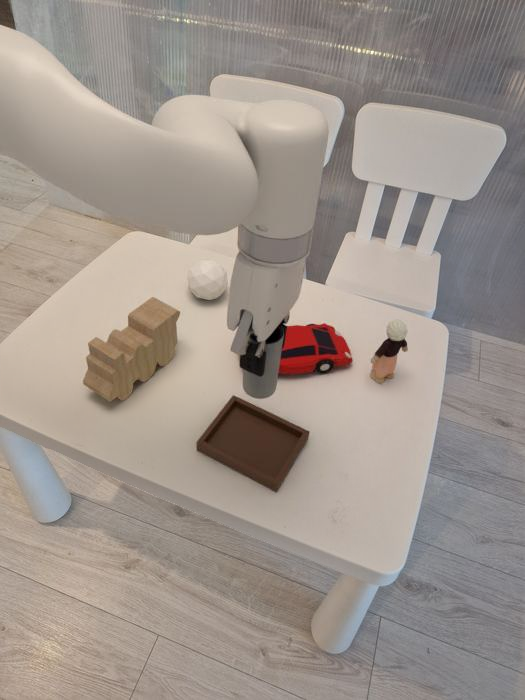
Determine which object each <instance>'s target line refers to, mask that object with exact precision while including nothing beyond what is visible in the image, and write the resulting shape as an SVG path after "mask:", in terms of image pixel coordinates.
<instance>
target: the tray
mask: <svg viewBox="0 0 525 700" xmlns="http://www.w3.org/2000/svg"><path fill="white" fill-rule="evenodd" d="M310 433H311V431H310V430H307V429H305V428H303V427H301V426H299V425H298V424H295V423H293V422H291V421H289V420H287V419H284V418H283V417H281V416H278V415H276V414H274V413H272V412H270V411H268V410H266V409H264V408H262V407H259V406H258V405H256V404H253V403H251V402H249V401H247V400H245V399H243V398H241V397H238V396H236V395H234V394H233V395H232V396H231V398H230V399H229V400H228V401H227V403H226V404H224V406H223V408H222V409H221V410H220V412H219V413H217V415H216V417H214V419H213V420H212V422H211V423H210V424H209V426H208V427H207V428H206V430H205V431H204V432H203V433H202V434H201V436H200V437H199V438H198V440H197V441H196V443H195V445H196V451H197V452H200V454H201V453H202V454H203V455H204V456H207V457H209V458H210V459H213V460H214V461H216V462H217V463H220V464H222V465H224V466H226V467H228V468H229V469H232V470H233V471H235V472H238V473H239V474H240V475H243V476H244V477H247V478H249V479H250V480H252V481H253V482H256V483H258V484H260V485H262V486H263V487H265V488H267V489H270V490H271V491H273V492H275V493H278V492H279V489H280V488H281V486H282V484H283V483H284V481H285V479H286V477H288V474H289V473H290V470H291V469H292V467H293V466H294V464H295V463H296V460H297V459H298V457H299V455H300V454H301V453H302V450H303V449H304V447H305V446H306V444H307V442H308V441H309V437H310Z"/></svg>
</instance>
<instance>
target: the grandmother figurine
mask: <svg viewBox="0 0 525 700" xmlns="http://www.w3.org/2000/svg"><path fill="white" fill-rule="evenodd" d="M407 334H408V328H407V324H406V323H405V322H404V320H401V319H395V320H391V321H390V322H389V323H388V324H387V326H386V336H387V338H386V339H385V340H383V342H382V343H381V344H380V346H379V347H378V348H377V350H376V351H375V352H374V354H373V356H372V357H371V358H370V363H371V364H372V366H371V368H372V370H373V371H372V372H371V373H370V374H369V376H370V378H371V379H372V380H373V381H374V382H376V383H377V384H383V383H385V381H386V379H385V378H387V379H393V378H394V377H395V369H396V366H397V362H398V361H397V360H398V354H399V353H400V351H402V352H403V353H407V352H408V350H409V347H408V342H407V340H406V338H407Z"/></svg>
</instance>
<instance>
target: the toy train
mask: <svg viewBox="0 0 525 700" xmlns="http://www.w3.org/2000/svg"><path fill="white" fill-rule="evenodd" d="M180 315H181V311H180V310H178V309H176V308H174V307H173V306H172V305H170V304H167V303H165V302H163V301H162V300H160V299H158V298H156V297H154V296H151V297H150V298H149V299H147V300H146V301H145V302H143V303H142V304H140V305H139V306H137V307H136V308H135V309H134V310H131V311H130V312H129V313H128V314H127V326H126V327H125V328H123V329H121V330H119V329H116V328H114V329H112V331H111V332H110V333H109V335H108V337H107V340H106V341H104V340H102V339H100V338H99V337H97V336H96V337H94V338H93V339H90V341H88V342H87V345H88V350H89V354H88V355H86V356H85V360H86V365H87V370H86V373H85V375H84V377H83V380H82V384H83V385H84V386H86V388H88V389H90V390H91V391H93V392H94V393H95V394H97V395H98V396H100V397H102V398H103V399H105V400H106V401H108V402H112V401H114V400H115V399H116V398H117V399H118V400H120V401H125V400H127V399H128V398H129V397H130V396H131V394H132V392H133V389H134V383H135V382H136V381H137V380H138V381H140V382H142V383H145V382H147V381H148V380H149V379H151V378H152V376H153V375H154V373H155V370H156V368H157V365H158V366H159V367H164V366H167V365H168V364H169V363H170V362H171V361H172V359H173V358H174V356H175V352H176V347H177V345H178V329H177V328H178V327H177V323H178V320H179V318H180Z"/></svg>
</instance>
